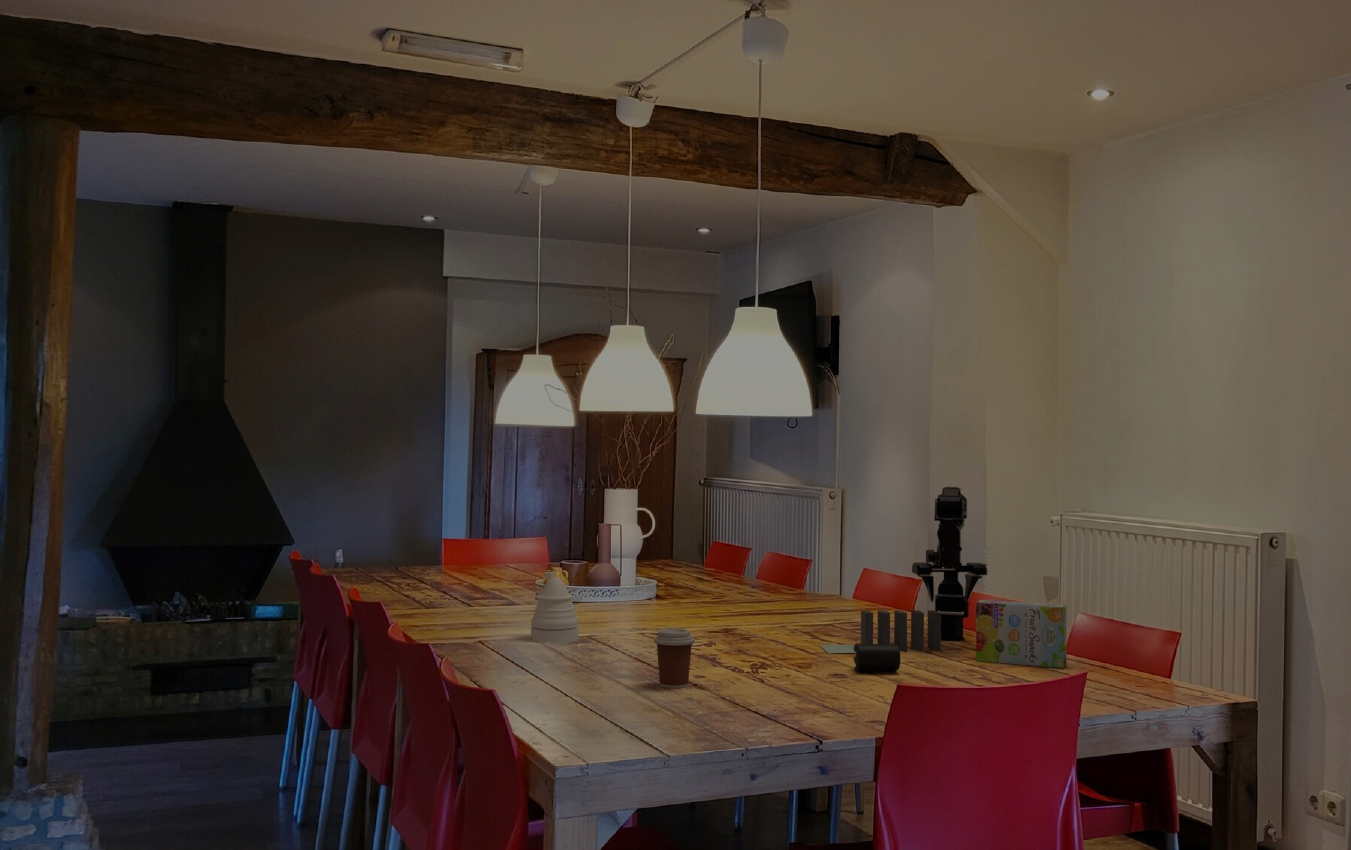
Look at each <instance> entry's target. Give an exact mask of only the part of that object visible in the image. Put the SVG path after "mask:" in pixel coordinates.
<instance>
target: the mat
mask: <svg viewBox="0 0 1351 850" xmlns="http://www.w3.org/2000/svg"><path fill="white" fill-rule="evenodd" d="M819 646H820V647H819ZM818 647H819V648H821V647H822V648H823V649H822V648H821V649H822V650H823V651H824V650H825V651H826V652H827V655H834V654H833V653H856V652H855V651H854V644H818ZM825 651H824V652H825ZM826 652H825V653H826Z"/></svg>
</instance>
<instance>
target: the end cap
mask: <svg viewBox="0 0 1351 850" xmlns="http://www.w3.org/2000/svg"><path fill="white" fill-rule="evenodd" d="M853 646H854V651H855V652H856V654H855V656H853V662H854V664H855V666H854V670H855V671H856V673H871V672H895V673H897V671H898V670H899V669H900V667H901V652H900V649H899V646H898V645H897V644H894V643H890V644H888V643H886V644H882V643H881V644H878V643H873V644H865V643H864V644H861V642H858V643H854V644H853Z"/></svg>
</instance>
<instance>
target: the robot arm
mask: <svg viewBox="0 0 1351 850" xmlns="http://www.w3.org/2000/svg"><path fill="white" fill-rule="evenodd" d="M961 489H962V488H961V487H959V486H958V487H956V486H944V487H942V490H941V491H942V492H941V494H938V495H937V498H935V499H934V516H933V517H934V521H937V522H939V524H938V529H937V534H936V536H937V539H938V544H937V547H936V551H935V550H934V549H927V550H925V562H919V561H918V562H915V561H914V562H913V563H912V566H911V572H912V574H915V575H916V576H917V577H919V578H921V580H922V581H923V583H924V585H925V588H926V590H927V594H928V596H929V599H930V602H932V603H933V602H934V610H935V611H937V612H940V613H941V641H942V640H943V641H965V640H966V638H965V637H964V619H967V618H969V614H970V613H969V610H970V609H969V605H970V603H969V602H970V601H969V599H970V596H971V594H972V592H973V590H974V588H975V586H976V584H977V583H978V581H979V579H982V578H983V576H987V575H988V567H987V565H986V564H985V563H982V562H966V564H965V565H963V563H962V562H961V560H962V559H961V558H962V557H961V552H963V550H962V549H963V548H962V546H961V545H962V544H961V541H962V540H961V539H962V536H961V531H962V529H963V527H964V526H965V519H967V518H968V499H967V497H965V495H963V494H962V492H961ZM932 573H943V580H942V581H941V582H940V583H939V584H938V587H937V594H935V591H934V590H935V588H934V586H935V583H934V581H935V579H934V575H932ZM959 573H965V574H964V578H965V586H964V587H965V588H964V587H963V585H962V584H961V582H960V581H959Z"/></svg>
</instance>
